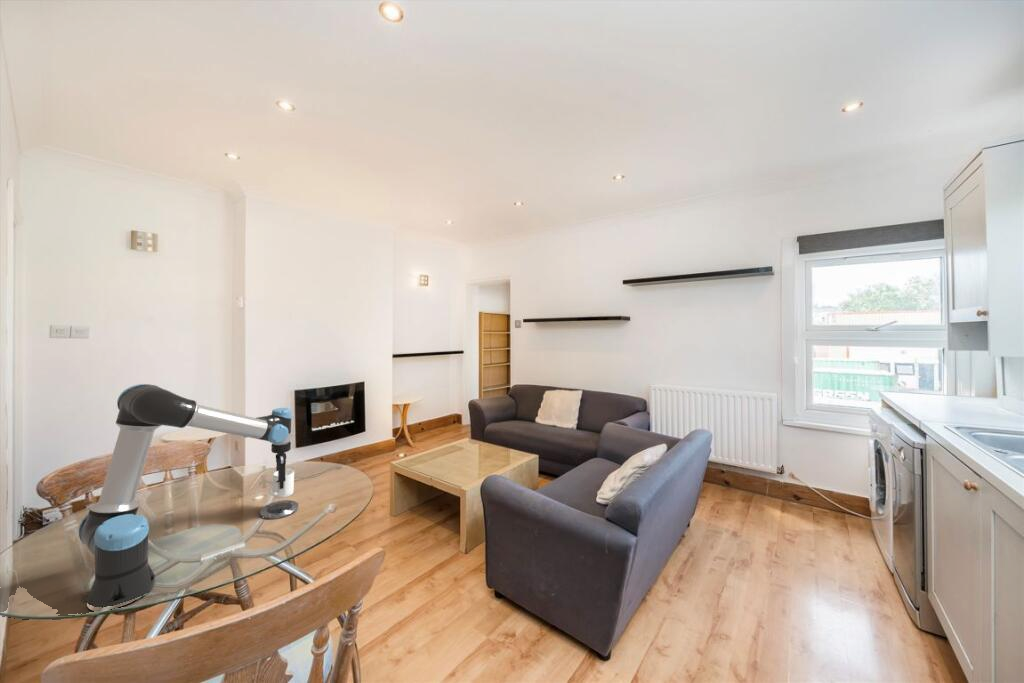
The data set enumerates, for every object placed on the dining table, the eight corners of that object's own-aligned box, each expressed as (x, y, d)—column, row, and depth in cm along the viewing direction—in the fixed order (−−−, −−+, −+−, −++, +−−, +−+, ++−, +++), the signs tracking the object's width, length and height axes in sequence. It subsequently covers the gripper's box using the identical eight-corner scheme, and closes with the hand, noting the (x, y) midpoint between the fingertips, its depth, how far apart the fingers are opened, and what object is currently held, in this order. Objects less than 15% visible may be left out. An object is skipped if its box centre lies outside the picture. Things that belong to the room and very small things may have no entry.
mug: (277, 503, 165) (278, 480, 165) (261, 501, 167) (261, 478, 166) (297, 491, 177) (298, 470, 177) (282, 489, 179) (282, 468, 178)
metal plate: (281, 521, 164) (281, 518, 164) (251, 516, 167) (251, 513, 167) (305, 505, 179) (305, 502, 179) (278, 500, 182) (278, 498, 182)
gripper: (293, 448, 164) (292, 498, 166) (288, 434, 182) (287, 479, 184) (272, 451, 160) (271, 502, 162) (270, 436, 178) (269, 482, 179)
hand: (280, 490), depth 173 cm, fingers closed on mug, 9 cm apart
